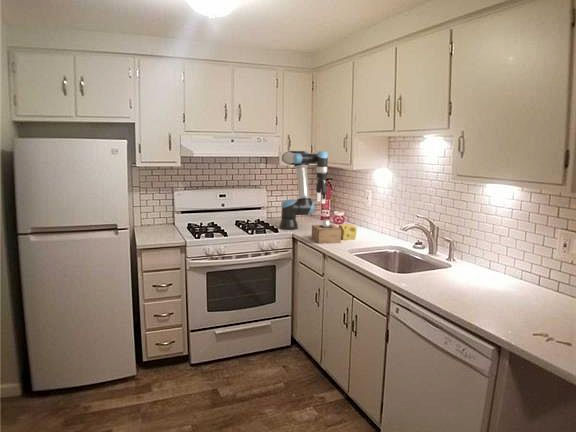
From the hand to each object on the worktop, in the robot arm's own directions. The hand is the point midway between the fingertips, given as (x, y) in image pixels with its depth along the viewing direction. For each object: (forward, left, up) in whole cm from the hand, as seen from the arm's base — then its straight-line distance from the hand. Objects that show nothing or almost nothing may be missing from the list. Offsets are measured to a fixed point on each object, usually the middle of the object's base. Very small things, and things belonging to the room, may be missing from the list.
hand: (320, 202), depth 314 cm
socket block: (+14, 0, -26) cm, 29 cm away
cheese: (+9, +18, -26) cm, 33 cm away
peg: (+14, 0, -21) cm, 25 cm away
